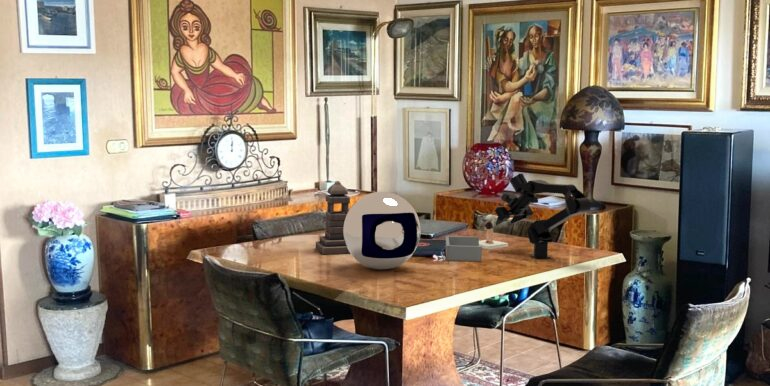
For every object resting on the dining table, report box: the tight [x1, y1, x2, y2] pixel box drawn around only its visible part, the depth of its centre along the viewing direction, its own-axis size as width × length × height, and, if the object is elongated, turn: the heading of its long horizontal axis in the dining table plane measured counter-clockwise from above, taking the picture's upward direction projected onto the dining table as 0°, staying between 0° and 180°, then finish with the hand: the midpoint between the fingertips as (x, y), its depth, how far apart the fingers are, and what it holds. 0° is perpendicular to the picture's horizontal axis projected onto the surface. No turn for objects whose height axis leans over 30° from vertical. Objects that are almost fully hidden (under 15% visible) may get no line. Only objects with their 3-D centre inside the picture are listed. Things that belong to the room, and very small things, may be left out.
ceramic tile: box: [479, 239, 509, 250], centre depth 396 cm, size 12×12×2 cm
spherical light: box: [343, 191, 422, 271], centre depth 344 cm, size 30×29×30 cm
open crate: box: [445, 235, 483, 262], centre depth 374 cm, size 14×23×6 cm, turn 177°
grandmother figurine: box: [484, 214, 494, 244], centre depth 395 cm, size 8×4×13 cm, turn 30°
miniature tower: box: [315, 180, 351, 256], centre depth 379 cm, size 16×15×30 cm
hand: (503, 223), depth 388 cm, fingers open, 9 cm apart
